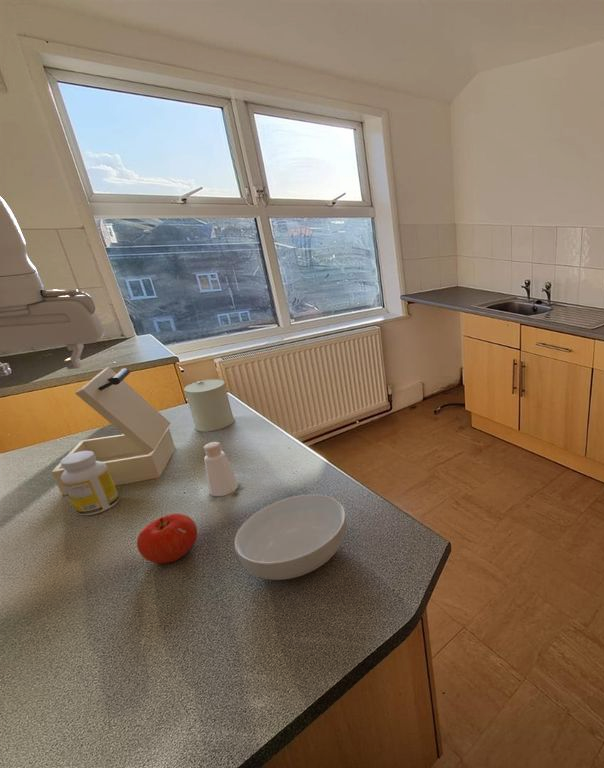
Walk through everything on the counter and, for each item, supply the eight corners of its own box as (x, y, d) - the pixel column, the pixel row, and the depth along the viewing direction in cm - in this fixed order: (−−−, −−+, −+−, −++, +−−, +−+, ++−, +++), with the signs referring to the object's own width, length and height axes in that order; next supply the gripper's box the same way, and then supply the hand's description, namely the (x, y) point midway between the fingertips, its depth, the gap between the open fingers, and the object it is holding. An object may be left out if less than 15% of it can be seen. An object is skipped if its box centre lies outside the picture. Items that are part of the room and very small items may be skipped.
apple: (213, 541, 78) (201, 505, 75) (172, 576, 71) (157, 538, 68) (176, 534, 79) (163, 499, 76) (132, 567, 72) (116, 530, 69)
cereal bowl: (285, 614, 64) (276, 579, 62) (222, 570, 72) (211, 537, 69) (370, 543, 78) (366, 512, 75) (310, 512, 86) (304, 483, 83)
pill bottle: (118, 492, 90) (99, 444, 86) (121, 506, 86) (101, 457, 82) (76, 505, 86) (53, 456, 82) (77, 521, 82) (53, 470, 77)
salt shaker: (207, 499, 89) (192, 453, 84) (211, 485, 93) (198, 441, 89) (237, 493, 91) (224, 448, 87) (240, 479, 95) (228, 436, 91)
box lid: (74, 393, 84) (102, 378, 85) (102, 370, 95) (127, 357, 96) (147, 454, 93) (172, 439, 94) (164, 426, 104) (187, 413, 105)
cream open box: (62, 495, 89) (51, 472, 87) (89, 462, 101) (80, 440, 98) (159, 477, 95) (151, 455, 93) (175, 448, 107) (168, 427, 105)
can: (225, 413, 125) (215, 374, 120) (240, 422, 120) (230, 382, 115) (189, 425, 118) (176, 384, 113) (203, 435, 113) (191, 393, 108)
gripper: (95, 285, 76) (121, 358, 82) (-69, 292, 68) (-28, 372, 74) (80, 291, 71) (108, 369, 76) (-100, 299, 63) (-54, 386, 69)
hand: (40, 371), depth 75 cm, fingers open, 8 cm apart
